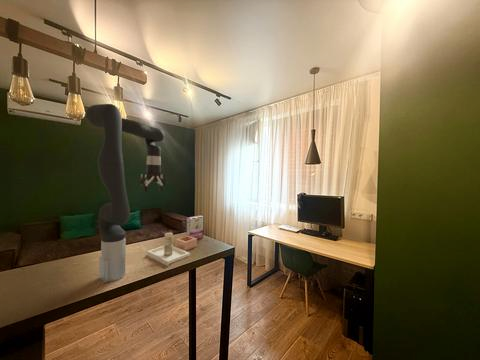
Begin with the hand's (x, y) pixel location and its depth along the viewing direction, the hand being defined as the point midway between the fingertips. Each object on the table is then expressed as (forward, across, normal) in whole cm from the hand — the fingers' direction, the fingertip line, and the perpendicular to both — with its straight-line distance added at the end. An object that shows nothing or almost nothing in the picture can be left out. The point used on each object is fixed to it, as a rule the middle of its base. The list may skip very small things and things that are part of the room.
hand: (153, 192), depth 112 cm
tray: (+36, +4, -10) cm, 37 cm away
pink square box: (+36, +18, -8) cm, 41 cm away
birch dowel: (+35, +4, -10) cm, 36 cm away
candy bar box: (+36, +32, 0) cm, 48 cm away
